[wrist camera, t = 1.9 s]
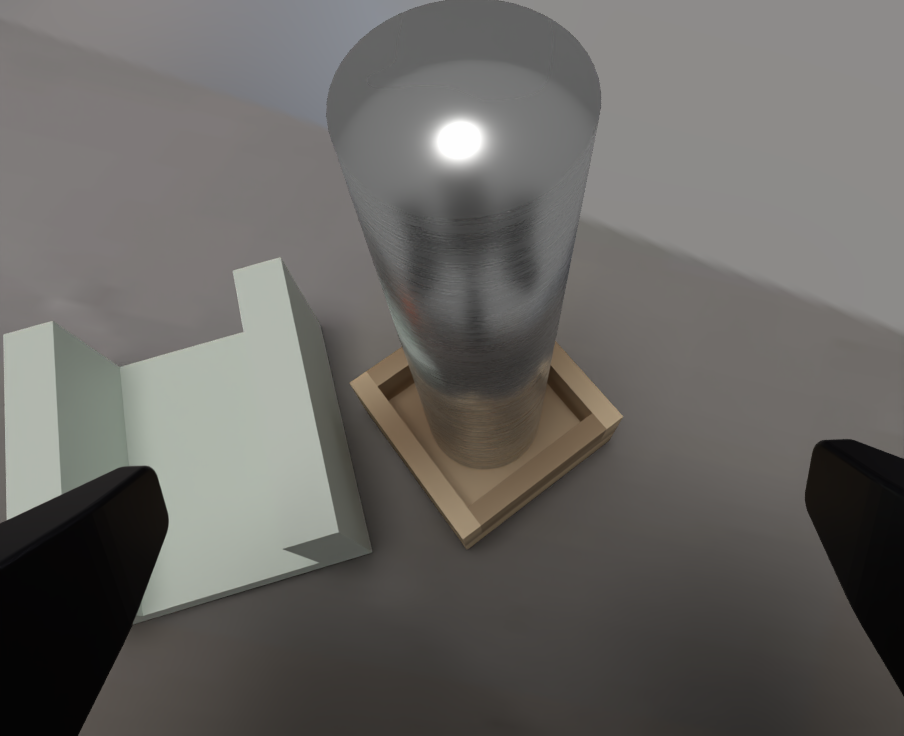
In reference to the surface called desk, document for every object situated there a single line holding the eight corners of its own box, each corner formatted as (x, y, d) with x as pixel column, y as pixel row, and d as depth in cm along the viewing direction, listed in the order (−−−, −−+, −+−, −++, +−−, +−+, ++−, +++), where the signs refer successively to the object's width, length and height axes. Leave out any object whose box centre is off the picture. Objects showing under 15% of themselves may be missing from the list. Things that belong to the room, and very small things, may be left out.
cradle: (372, 552, 20) (338, 532, 16) (114, 630, 19) (8, 630, 15) (320, 325, 23) (280, 257, 19) (95, 389, 22) (3, 334, 18)
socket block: (609, 440, 21) (623, 416, 18) (467, 550, 20) (462, 539, 17) (500, 315, 22) (499, 278, 20) (365, 409, 22) (349, 382, 19)
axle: (562, 425, 20) (660, 111, 8) (473, 492, 19) (430, 264, 7) (493, 344, 21) (487, -39, 9) (407, 405, 20) (276, 83, 8)
